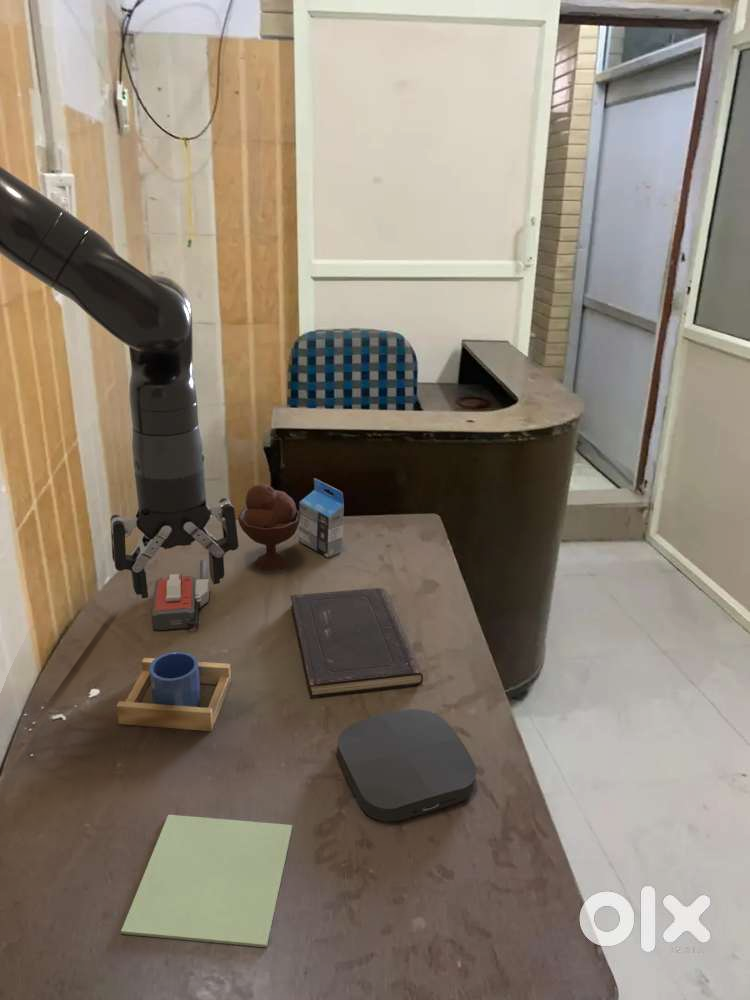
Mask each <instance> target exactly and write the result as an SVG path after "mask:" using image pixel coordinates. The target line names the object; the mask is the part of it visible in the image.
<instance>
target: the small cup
mask: <svg viewBox="0 0 750 1000" xmlns="http://www.w3.org/2000/svg"><path fill="white" fill-rule="evenodd" d="M198 662H199V661H198V658H197V657H196V656H195V655H193V654H192V653H189V652H186V651H178V650H176V651H170V652H165V653H163V654H161V655H158V656H157V657H155V660H153V661H152V663H151V665H150V666H149V672H150V681H151V682H150V688H151V689H150V690H151V695H152V696H151V698H152V704H164V705H177V706H190V707H200V704H201V701H202V693H201V683H200V680H199V667H198Z"/></svg>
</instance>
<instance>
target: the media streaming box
mask: <svg viewBox="0 0 750 1000" xmlns="http://www.w3.org/2000/svg"><path fill="white" fill-rule="evenodd" d="M336 741H337V742H336V757H337V760H338V763H339V766H340V768H341V770H342V773H343V775H344V778H345V780H346V782H347V784H348V786H349V788H350V790H351V791H352V794H353V795H354V797H355V799H356V801H357V803H358V804H359V806H360V808H361V809H362V810H363V811H364V812H365V813H366V814H367V815H368V816H370V817H372V818H373V819H376V820H379V821H383V822H397V821H398V822H399V821H402V820H405V819H410V818H414V817H416V816H420V815H424V814H428V813H432V812H434V811H437V810H441V809H444V808H447V807H450V806H453V805H456V804H458V803H462V802H464V801H465V800H467V799H468V798H469V797H470V796H471V795H472V793H473V792H474V789H475V785H476V778H477V775H476V774H477V768H476V764H475V762H474V760H473V758H472V755H471V754H470V753H469V751H468V749H467V747H466V746H465V744H464V743H463V741H462V740H461V738H460V736H459V735H458V734H457V733H456V731H455V730H454V729H453V728H452V726H451V725H450V724H449V723H448V721H446V720H445V719H444V717H442V716H440V715H438V714H437V713H434V712H432V711H428V710H426V709H425V710H424V709H418V708H409V709H400V710H394V711H393V710H392V711H388V712H384V713H380V714H376V715H372V716H369V717H366V718H364V719H361V720H358V721H356V722H353V723H351V724H349V725H348V726H346V727H345V728H343V730H342V731H341V732H340V734H339V735H338V737H337V740H336Z"/></svg>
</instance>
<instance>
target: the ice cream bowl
mask: <svg viewBox="0 0 750 1000" xmlns="http://www.w3.org/2000/svg"><path fill="white" fill-rule="evenodd" d="M245 506H246V507H244V508H242V509H241V511H240V513H239V515H238V517H237V520H238V523H239V526H240V528H241V530H242V531H243V532H244V534H245V535H246V536H247V537H248V538H249V539H251V540H252V541H254V542H255V543H257V544H258V545H259V544H260V545H264V546H265V547H266V549H265V553H263V554H261V555H259V556H258V557H257V559H256V561H255V565H256V566H257V567H258V568H259V569H262V570H266V571H272V570H280V569H281V568H283V567H285V566H286V564H287V562H288V560H287V558H286V557H285V556H284V555H283V554H282V553H278V552H277V545H279V544H282V543H284V542H285V541H288V540H289V539H291V538H292V537H293V536H294V535H295V533H296V532H297V530H298V528H299V522H300V518H301V512H300V511H299V510H300V509H297V505H296V503H295V501H294V499H293V498H292V497H291V496H290V495H288V493H286V492H285V491H282V490H277V489H275V488H274V487H272V486H270V485H269V484H265V483H264V484H263V483H259V484H256V485H253V486H252V487H251V488H249V490H248V491H247V493H246V496H245Z"/></svg>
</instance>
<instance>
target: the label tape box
mask: <svg viewBox="0 0 750 1000" xmlns="http://www.w3.org/2000/svg"><path fill="white" fill-rule="evenodd" d="M313 486H314V487H313V488H314V489H313V490H312V491H310V493H309V494H307V495H306V496H305V497H304V498H302V499H301V500H300V501H299V509H298V510H299V511H300V512H301V518H300V522H299V524H298V542H300V543H301V544H303V545H305V546H307V547H308V548H310V549H313V550H314V551H315V552H317V553H319V554H320V555H322V556H324V557H326V558H331V557H334V556H336V555H339V554H341V553H343V533H344V532H343V530H344V512H345V511H344V509H345V502H344V494H343V493H344V492H342V491H341V490H339V489H337V488H335V487H334V486H331V485H329V484H328V483H325V482H323V481H321V480H320V479H318V478H315V477H314V478H313ZM325 490H326V491H325ZM327 491H329V493H328V492H327ZM330 493H332V494H333V495H332V494H330Z"/></svg>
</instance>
